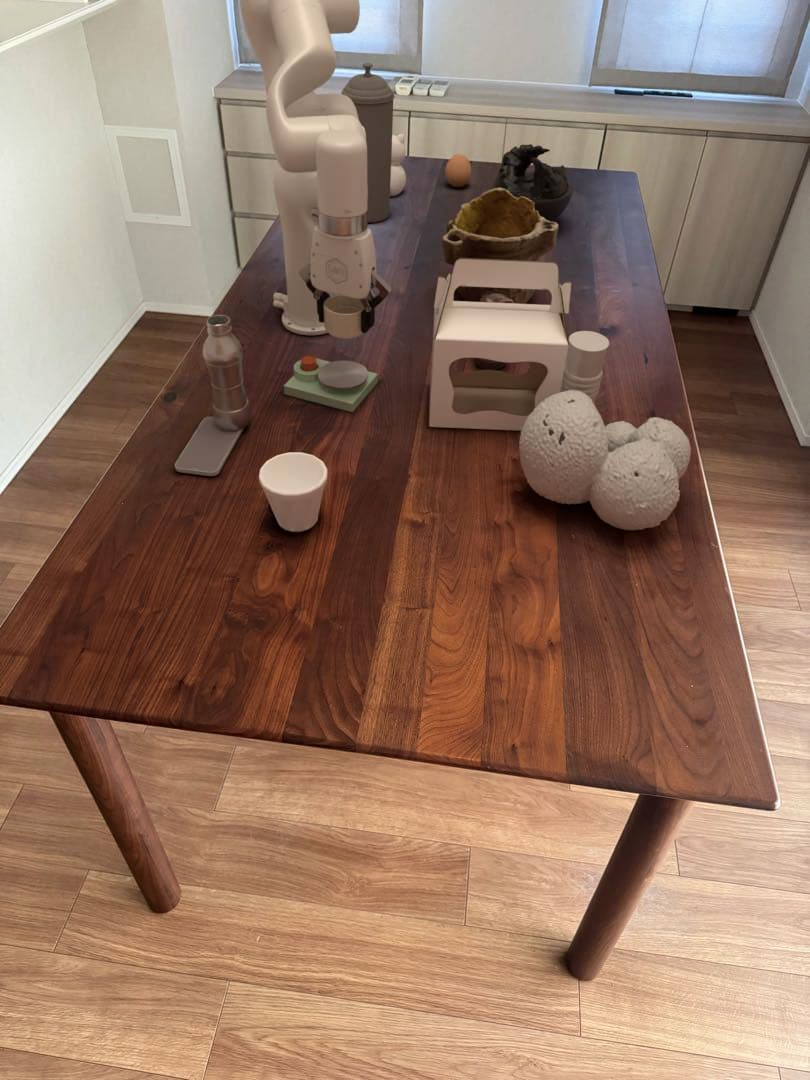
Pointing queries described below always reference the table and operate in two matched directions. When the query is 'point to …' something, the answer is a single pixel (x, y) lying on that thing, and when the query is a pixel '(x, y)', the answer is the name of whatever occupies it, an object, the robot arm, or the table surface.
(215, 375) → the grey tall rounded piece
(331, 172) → the robot arm
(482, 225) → the ceramic vessel
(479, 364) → the can
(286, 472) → the cup
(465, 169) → the egg
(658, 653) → the table surface
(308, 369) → the button
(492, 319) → the cardboard gift box
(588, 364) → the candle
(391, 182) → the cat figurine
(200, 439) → the smartphone
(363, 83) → the canister
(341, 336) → the bowl
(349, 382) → the scale plate
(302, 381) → the scale
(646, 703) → the table surface
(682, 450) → the grey lumpy cluster
